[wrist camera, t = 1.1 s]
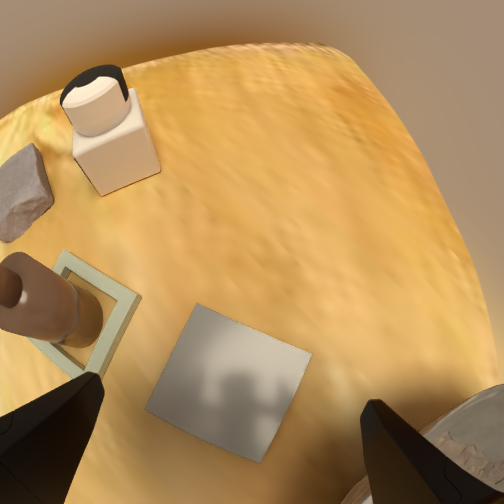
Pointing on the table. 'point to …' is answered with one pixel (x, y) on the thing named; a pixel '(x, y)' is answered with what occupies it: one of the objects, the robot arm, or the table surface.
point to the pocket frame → (112, 328)
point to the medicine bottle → (108, 129)
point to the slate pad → (228, 384)
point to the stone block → (22, 192)
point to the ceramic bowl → (463, 441)
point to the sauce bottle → (46, 304)
